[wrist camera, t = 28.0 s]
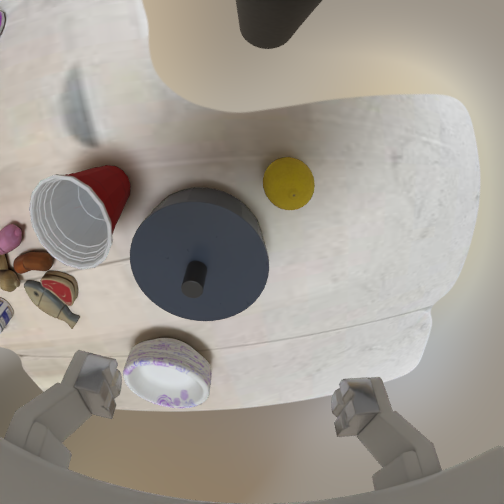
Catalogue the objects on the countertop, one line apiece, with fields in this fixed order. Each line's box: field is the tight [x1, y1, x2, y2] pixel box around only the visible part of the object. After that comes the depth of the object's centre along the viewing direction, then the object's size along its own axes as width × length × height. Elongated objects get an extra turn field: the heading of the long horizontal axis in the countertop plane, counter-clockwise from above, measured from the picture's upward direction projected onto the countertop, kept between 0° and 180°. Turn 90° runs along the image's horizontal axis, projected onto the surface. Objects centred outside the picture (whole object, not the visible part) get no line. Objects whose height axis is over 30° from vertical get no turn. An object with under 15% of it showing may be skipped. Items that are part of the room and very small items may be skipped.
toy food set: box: [0, 224, 80, 329], centre depth 40 cm, size 26×16×4 cm, turn 55°
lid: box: [130, 200, 269, 321], centre depth 33 cm, size 17×17×5 cm
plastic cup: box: [29, 165, 130, 269], centre depth 30 cm, size 11×11×12 cm
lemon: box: [263, 157, 315, 210], centre depth 32 cm, size 6×6×8 cm
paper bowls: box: [123, 338, 211, 408], centre depth 48 cm, size 15×15×8 cm
